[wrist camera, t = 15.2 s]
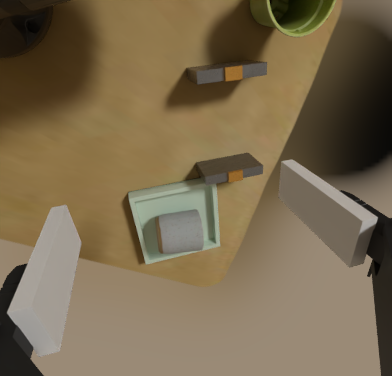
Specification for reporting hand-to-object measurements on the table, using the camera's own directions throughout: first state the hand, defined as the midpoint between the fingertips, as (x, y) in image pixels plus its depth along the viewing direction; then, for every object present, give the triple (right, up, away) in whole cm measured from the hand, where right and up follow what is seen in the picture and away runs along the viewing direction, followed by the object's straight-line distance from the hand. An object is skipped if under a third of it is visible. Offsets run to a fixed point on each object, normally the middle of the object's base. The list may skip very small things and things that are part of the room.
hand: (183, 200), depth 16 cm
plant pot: (+11, +28, +22) cm, 37 cm away
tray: (-3, -5, +36) cm, 36 cm away
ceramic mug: (-3, -7, +36) cm, 37 cm away
